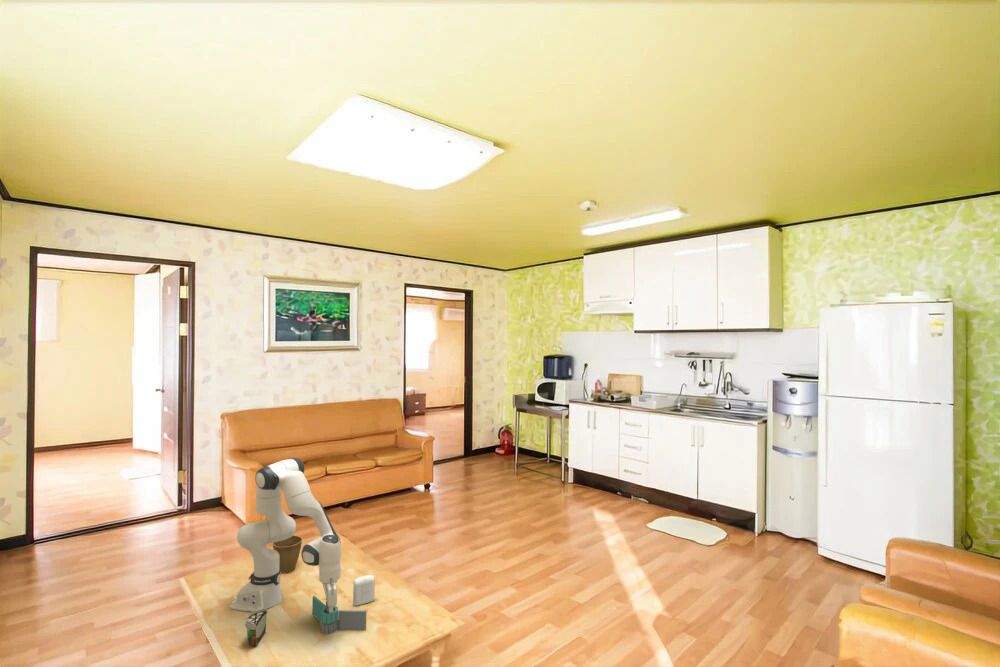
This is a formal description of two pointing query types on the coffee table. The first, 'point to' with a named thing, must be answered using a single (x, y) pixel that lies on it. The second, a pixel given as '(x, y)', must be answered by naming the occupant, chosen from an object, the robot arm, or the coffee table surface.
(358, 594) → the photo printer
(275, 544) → the plant pot
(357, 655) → the coffee table surface
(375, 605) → the coffee table surface
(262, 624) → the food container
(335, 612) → the teal hinge knuckle plate
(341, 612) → the frame leaf
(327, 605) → the hinge pin
